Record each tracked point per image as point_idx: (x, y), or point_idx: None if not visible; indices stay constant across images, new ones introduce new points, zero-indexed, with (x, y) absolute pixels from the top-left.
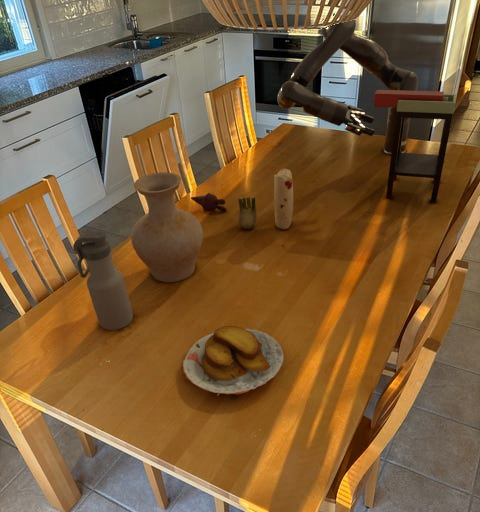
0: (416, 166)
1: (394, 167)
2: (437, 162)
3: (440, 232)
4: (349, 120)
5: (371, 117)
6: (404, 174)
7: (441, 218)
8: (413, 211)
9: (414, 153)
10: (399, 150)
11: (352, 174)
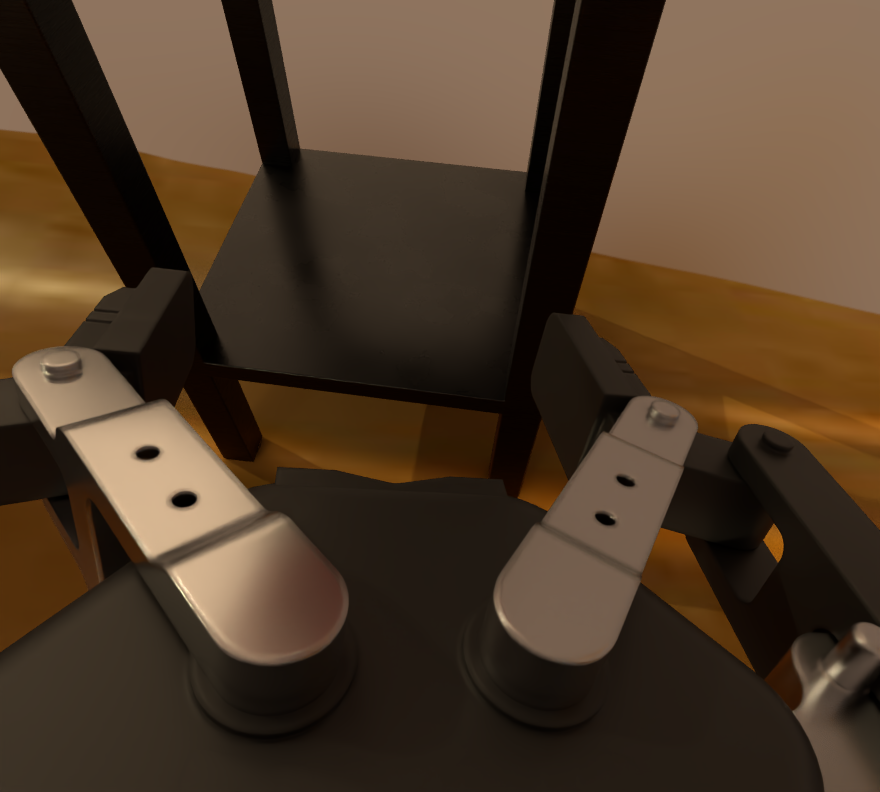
0: (437, 260)
1: None
2: (375, 174)
3: (805, 298)
4: (796, 739)
5: (170, 287)
6: None
7: (677, 285)
8: (642, 377)
9: (218, 256)
10: (206, 316)
11: None
